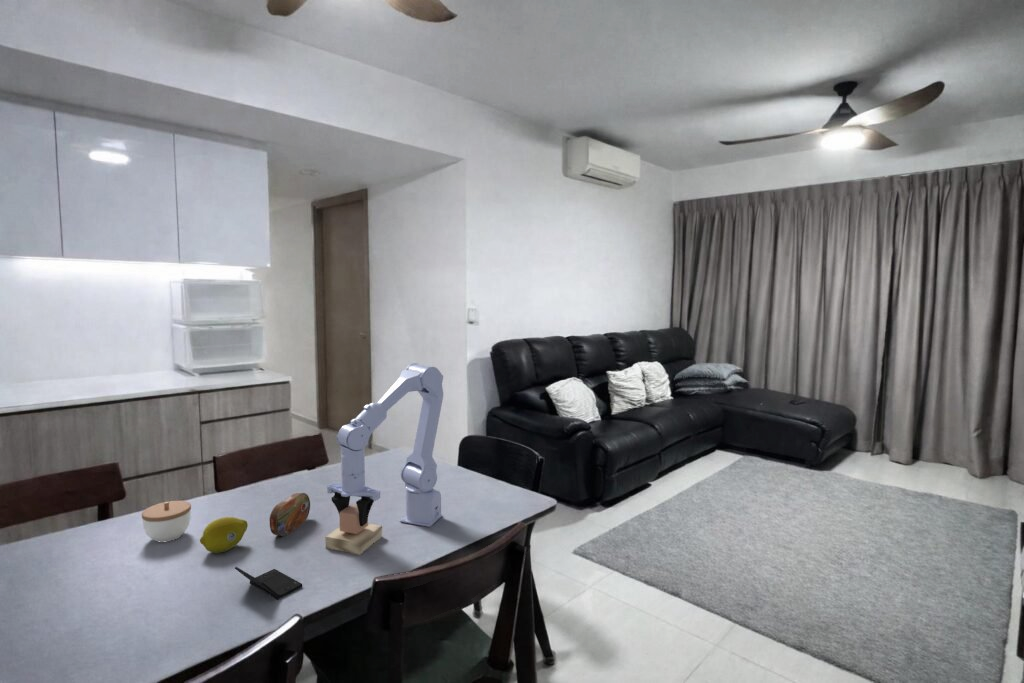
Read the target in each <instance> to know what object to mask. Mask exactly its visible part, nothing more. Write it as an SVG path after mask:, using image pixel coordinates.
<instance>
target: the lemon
mask: <svg viewBox="0 0 1024 683" xmlns="http://www.w3.org/2000/svg"><path fill="white" fill-rule="evenodd" d="M248 524H249V523H248V522H247V520H245V519H240V518H238V517H234V516H226V517H221V518H217V519H215V520H213V521H211V522H210V523H208V524H207V526H205V528H204V530H203V533H202V536H201V537H200V539H199V543H200V544H201V545H202V546H203V547H204V548H205V550H206V551H208V552H210V553H216V554H217V553H224V552H228V551H229V550H231V549H233V548H234V547H235V546H237V545H238V544H239V543H240V541H241V540H242V539H243V537H244V534H245V533H246V531H247V529H248Z"/></svg>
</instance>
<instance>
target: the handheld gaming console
mask: <svg viewBox="0 0 1024 683" xmlns="http://www.w3.org/2000/svg"><path fill="white" fill-rule="evenodd" d="M234 570H236V571H237V572H239V573H240V574H242V576H244V577H245V578H246V579H247V580H249V584H251V585H252V586H254V587H256V588H257V589H259V590H260V591H262V592H264V593H266V594H267V595H270V596H271V597H273V598H274V599H275V600H277V601H279V600H281V599H282V598H285V597H287V596H288V595H290V594H292V593H294V592H296V591H298V590H300V589H302V588H303V583H301V582H299V581H298V580H296V579H294V578H292V577H291V576H289V575H287V574H286V573H284V572H281V571H280V570H278V569H276V568H273V569H271V570H269V571H266V572H264V573H262V574H260V575H258V576H256V577H254V575H251V574H249V573H248V572H246V571H245V570H243V569H240V568H239V567H238V566H235V567H234Z"/></svg>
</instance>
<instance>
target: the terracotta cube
mask: <svg viewBox="0 0 1024 683" xmlns="http://www.w3.org/2000/svg"><path fill="white" fill-rule="evenodd" d="M339 514H340V516H339V527H340V531H343V532H348V533H354V534H358V533H359V532H360V531H362V530H363V529H364V528H366V527H367V526H368V523H369V518H368V519H367V523H366V524H365V525H364V526H360V522H359V511H358V507H357V504H349V506H348V507H347V508H345V509H344V510H342V511H340V512H339V513H338V515H339Z"/></svg>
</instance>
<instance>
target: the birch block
mask: <svg viewBox="0 0 1024 683" xmlns="http://www.w3.org/2000/svg"><path fill="white" fill-rule="evenodd" d="M382 537H383V526H382V525H381V524H380V525H379V524H374V523H369V522H368V526H367V527H366V528H364V529H363V530H362V531H360V532H359V533H358V534H354V533H348V532H343V531H340V526H339V527H337V528H336V529H334V530H333V531H331V532H330V533H329V534H327V535H325V549H329V548H331V549H330V550H334V549H335V550H334V551H339V550H340V551H339V552H344V551H345V553H349V552H350V553H349V554H353V555H359V556H360V555H361V554H363V553H364V552H366V550H367V549H369V548H370V547H371V546H373V545H374V544H375V543H376V542H377V541H378V540H380V539H381V538H382ZM373 543H374V544H373ZM363 551H364V552H363Z"/></svg>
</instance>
